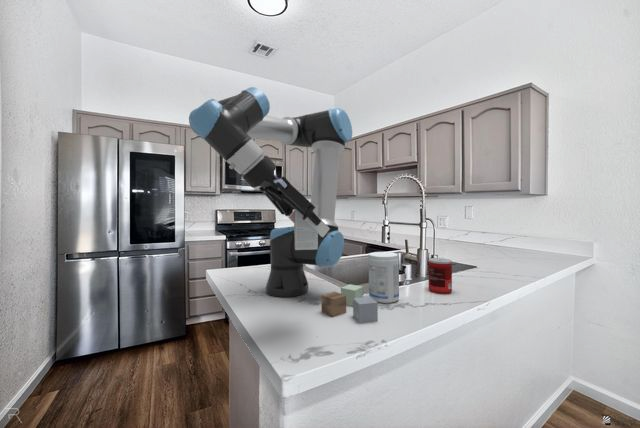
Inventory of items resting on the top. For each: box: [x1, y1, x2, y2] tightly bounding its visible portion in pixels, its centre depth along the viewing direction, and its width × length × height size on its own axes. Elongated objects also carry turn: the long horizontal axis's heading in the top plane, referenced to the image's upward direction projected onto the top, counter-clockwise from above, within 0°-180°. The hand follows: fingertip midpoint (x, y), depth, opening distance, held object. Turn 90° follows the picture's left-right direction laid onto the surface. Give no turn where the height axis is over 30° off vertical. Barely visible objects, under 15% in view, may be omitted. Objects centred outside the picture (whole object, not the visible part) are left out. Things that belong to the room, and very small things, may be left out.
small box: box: [293, 206, 318, 250], centre depth 70 cm, size 8×6×10 cm
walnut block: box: [320, 291, 347, 318], centre depth 80 cm, size 5×5×5 cm
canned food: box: [427, 257, 453, 295], centre depth 99 cm, size 8×8×11 cm
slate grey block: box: [352, 296, 379, 324], centre depth 75 cm, size 5×5×5 cm
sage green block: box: [340, 283, 364, 307], centre depth 87 cm, size 5×5×5 cm
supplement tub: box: [367, 251, 400, 304], centre depth 91 cm, size 10×10×15 cm
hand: (316, 231), depth 71 cm, fingers closed on small box, 9 cm apart
